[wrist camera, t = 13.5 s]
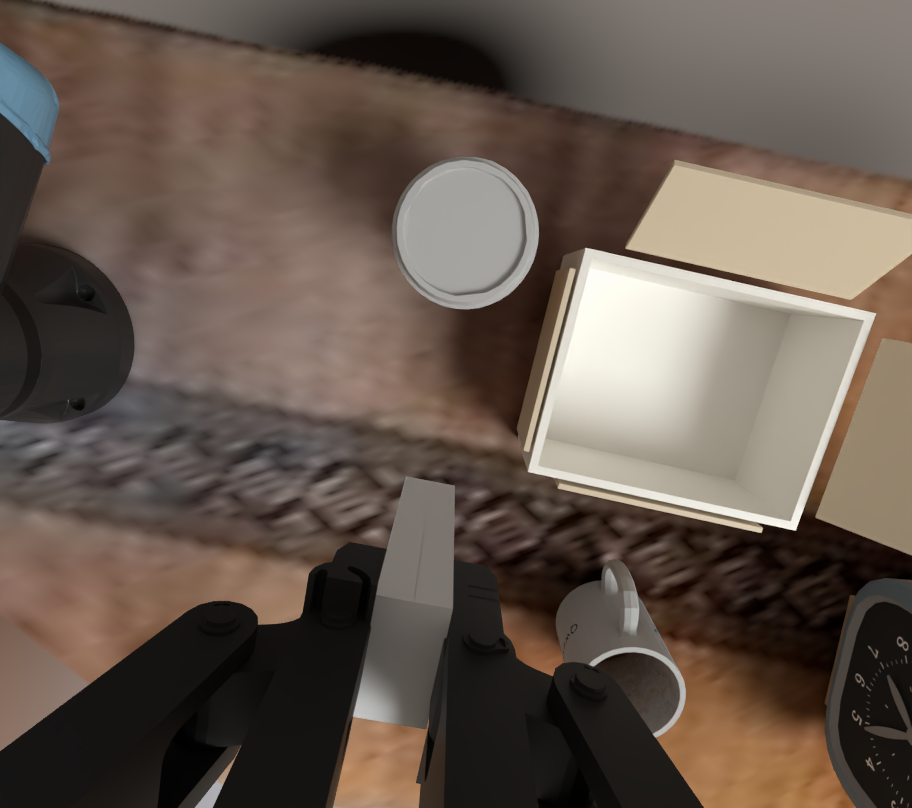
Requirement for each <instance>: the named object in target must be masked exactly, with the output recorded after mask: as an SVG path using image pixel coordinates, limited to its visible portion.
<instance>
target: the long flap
mask: <svg viewBox="0 0 912 808" xmlns="http://www.w3.org/2000/svg"><path fill="white" fill-rule="evenodd" d="M626 249H629V250H634V251H638V252H643V253H647V254H651V255H656V256H660V257H665V258H669V259H673V260H678V261H682V262H687V263H691V264H695V265H700V266H704V267H709V268H713V269H717V270H722V271H726V272H731V273H735V274H739V275H744V276H748V277H753V278H757V279H761V280H766V281H770V282H775V283H779V284H783V285H788V286H792V287H797V288H801V289H805V290H810V291H814V292H819V293H823V294H827V295H832V296H836V297H841V298H845V299H849V300H852V299H853V298H854V297H856V296H857V295H858V294H860V293H861V292H862V291H863V290H865V289H866V288H867V287H869V286H870V285H871V284H873V283H874V282H875V281H877V280H878V279H879V278H881V277H882V276H883V275H885V274H886V273H887V272H888V271H890V270H891V269H892V268H894V267H895V266H896V265H898V264H899V263H900V262H902V261H903V260H904V259H906V258H907V257H908V256H910V255H911V254H912V214H909V213H904V212H900V211H896V210H891V209H887V208H883V207H878V206H874V205H870V204H865V203H861V202H857V201H852V200H848V199H843V198H839V197H835V196H830V195H826V194H822V193H817V192H813V191H809V190H804V189H800V188H796V187H791V186H787V185H783V184H778V183H774V182H770V181H765V180H761V179H756V178H752V177H748V176H743V175H739V174H735V173H730V172H726V171H722V170H717V169H713V168H709V167H704V166H700V165H696V164H691V163H687V162H683V161H678V160H674V162H673V163H672V165H671V167H670V169H669V170H668V172H667V174H666V175H665V177H664V179H663V181H662V182H661V184H660V186H659V188H658V189H657V191H656V193H655V195H654V196H653V198H652V200H651V201H650V203H649V205H648V207H647V208H646V210H645V212H644V214H643V215H642V217H641V219H640V221H639V222H638V224H637V226H636V227H635V229H634V231H633V233H632V234H631V236H630V238H629V240H628V241H627V243H626Z"/></svg>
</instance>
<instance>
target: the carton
mask: <svg viewBox="0 0 912 808" xmlns="http://www.w3.org/2000/svg"><path fill="white" fill-rule="evenodd" d="M875 315H876V313H871V312H867V311H863V310H858V309H854V308H849V307H845V306H841V305H836V304H832V303H827V302H823V301H818V300H814V299H810V298H805V297H801V296H796V295H792V294H788V293H783V292H779V291H774V290H770V289H766V288H761V287H757V286H752V285H748V284H744V283H739V282H735V281H730V280H726V279H722V278H717V277H713V276H708V275H704V274H699V273H695V272H691V271H686V270H682V269H677V268H673V267H669V266H664V265H660V264H655V263H651V262H647V261H642V260H638V259H633V258H629V257H625V256H620V255H616V254H611V253H607V252H603V251H598V250H594V249H589V248H584V249H581V250H578V251H575V252H572V253H569V254H566V255H563V259H562V263H561V267H560V270H557V271H556V274H555V278H554V282H553V286H552V290H551V294H550V298H549V302H548V306H547V310H546V314H545V318H544V322H543V326H542V330H541V334H540V338H539V342H538V346H537V350H536V354H535V358H534V362H533V366H532V370H531V374H530V378H529V382H528V386H527V390H526V394H525V398H524V402H523V406H522V410H521V414H520V418H519V422H518V426H517V431H518V440H519V444H520V447H521V450H522V454H523V457H524V461H525V464H526V467H527V471H528V472H531V473H535V474H540V475H545V476H549V477H553V478H554V480H555V483H556V485H557V487H558V489H563V490H568V491H572V492H577V493H581V494H586V495H590V496H595V497H599V498H604V499H608V500H613V501H618V502H622V503H627V504H631V505H636V506H640V507H645V508H649V509H654V510H659V511H663V512H668V513H672V514H677V515H681V516H686V517H690V518H695V519H699V520H704V521H709V522H713V523H718V524H722V525H727V526H731V527H736V528H740V529H745V530H749V531H754V532H759V533H762V530H763V528H762V527H761V526H760V525H759V524H758V523H763V524H767V525H772V526H776V527H781V528H785V529H790V530H794V531H796V529H797V526H798V523H799V521H800V518H801V515H802V512H803V510H804V507H805V504H806V502H807V499H808V496H809V494H810V491H811V488H812V485H813V483H814V480H815V477H816V475H817V472H818V469H819V467H820V464H821V461H822V458H823V456H824V453H825V450H826V448H827V445H828V442H829V440H830V437H831V434H832V431H833V429H834V426H835V423H836V421H837V418H838V415H839V413H840V410H841V407H842V404H843V402H844V399H845V396H846V394H847V391H848V388H849V385H850V383H851V380H852V377H853V375H854V372H855V369H856V367H857V364H858V361H859V358H860V356H861V353H862V350H863V348H864V345H865V342H866V340H867V337H868V334H869V331H870V329H871V326H872V323H873V321H874V318H875ZM756 522H758V523H756Z"/></svg>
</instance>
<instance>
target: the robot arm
mask: <svg viewBox="0 0 912 808" xmlns="http://www.w3.org/2000/svg"><path fill="white" fill-rule="evenodd" d="M58 112H59V103H58V98H57V95H56V93H55V91H54V89H53V86H52V85H51V84H50V82H49V81H48V80H47V79H46V77H45V76H44V75H43V74H42V73H41V72H39V71H38V70H37V69H36V68H35V67H34V66H32V65H31V64H30V63H28V62H27V61H26V60H24V59H23V58H22V57H20V56H19V55H17V54H16V53H14V52H13V51H12V50H10V49H9V48H7V47H6V46H4V45H3V44H1V43H0V420H7V421H17V422H28V423H42V424H43V423H56V422H63V421H67V420H71V419H74V418H77V417H80V416H83V415H86V414H89V413H91V412H93V411H96V410H97V409H99V408H101V407H102V406H104V405H105V404H107V403H108V402H109V401H110V400H111V399H112V398H113V397H114V396H115V395H116V394H117V393H118V392H119V390H120V389H121V388H122V386H123V384H124V383H125V381H126V379H127V377H128V374H129V372H130V369H131V366H132V361H133V355H134V333H133V327H132V323H131V319H130V316H129V313H128V310H127V308H126V305H125V303H124V301H123V299H122V297H121V296H120V294H119V292H118V291H117V289H116V288H115V287H114V285H113V284H112V283H111V281H110V280H109V279H108V278H107V277H106V276H105V275H104V274H103V273H102V272H101V271H100V270H99V269H98V268H97V267H95V266H94V265H93V264H91V263H90V262H89V261H87V260H86V259H84V258H82V257H81V256H79V255H77V254H75V253H72V252H70V251H68V250H65V249H62V248H58V247H54V246H49V245H40V244H29V243H19V240H20V237H21V234H22V231H23V228H24V224H25V221H26V218H27V215H28V212H29V209H30V206H31V203H32V200H33V196H34V193H35V190H36V187H37V184H38V181H39V178H40V175H41V172H42V169H43V165H48V164H49V163H50V160H51V155H50V152H49V147H50V143H51V139H52V136H53V132H54V128H55V124H56V121H57V117H58ZM454 496H455V486H453V485H448V484H442V483H437V482H432V481H427V480H422V479H416V478H411V477H406V478H405V482H404V486H403V490H402V494H401V497H400V501H399V505H398V509H397V513H396V517H395V520H394V524H393V528H392V532H391V536H390V540H389V543H388V547H387V549H384V548H379V547H373V546H368V545H363V544H357V543H352V542H349V543H348V544H346V545H345V546H343V547H341V548H340V549H338V550H337V552H336V554H335V557H334V559H333V561H332V562H330V563H324V564H321V565H319V566H317V567H315V568H314V569H313V570H312V571H311V572H310V573H309V577H308V583H307V589H306V595H305V602H304V608H303V613H302V615H301V617H300V618H298V619H296V620H294V621H290V622H287V623H281V624H267V625H258V617H257V615H256V614H255V613H254V611H253V610H252V609H250V608H249V607H247V606H245V605H243V604H240V603H235V602H231V601H213V602H209V603H205V604H200V605H198V606H196V607H194V608H192V609H191V610H189V611H187V612H186V613H184V614H183V615H182V616H180V617H179V618H178V619H176V620H175V621H174V622H172V623H171V624H170V625H168V626H167V627H166V628H164V629H163V630H162V631H160V632H159V633H158V634H156V635H155V636H154V637H152V638H151V639H150V640H148V641H147V642H146V643H144V644H143V645H142V646H140V647H139V648H138V649H136V650H135V651H134V652H132V653H131V654H130V655H128V656H127V657H126V658H124V659H123V660H122V661H120V662H119V663H118V664H116V665H115V666H114V667H112V668H111V669H110V670H108V671H107V672H106V673H104V674H103V675H102V676H100V677H99V678H98V679H96V680H95V681H94V682H92V683H91V684H90V685H88V686H87V687H86V688H84V689H83V690H82V691H81V692H79V693H78V694H76V695H75V696H73V697H72V698H71V699H70V700H68V701H67V702H66V703H64V704H63V705H61V706H60V707H59V708H57V709H56V710H55V711H53V712H52V713H51V714H49V715H48V716H47V717H45V718H44V719H43V720H41V721H40V722H39V723H37V724H36V725H35V726H33V727H32V728H31V729H29V730H28V731H27V732H25V733H24V734H23V735H21V736H20V737H19V738H17V739H16V740H15V741H13V742H12V743H11V744H9V745H8V746H7V747H5V748H4V749H3V750H1V751H0V808H195V806H196V805H197V804H198V803H199V802H200V800H201V799H202V798H203V796H204V795H205V794H206V793H207V792H208V790H209V789H210V788H211V787H212V785H213V784H214V783H215V781H216V780H217V779H218V778H219V776H220V775H221V774H222V773H223V771H224V770H225V769H226V768H227V766H228V765H229V764H230V763H231V761H232V760H233V759H234V758H235V756H236V754H237V752H238V750H239V748H240V746H241V748H240V750H239V752H238V754H237V756H236V758H235V761H234V763H233V765H232V767H231V769H230V772H229V774H228V776H227V778H226V780H225V782H224V785H223V787H222V789H221V791H220V794H219V795H218V798H217V800H216V802H215V804H214V806H213V808H333V804H334V800H335V795H336V791H337V787H338V783H339V778H340V774H341V770H342V765H343V761H344V757H345V752H346V748H347V744H348V740H349V735H350V730H351V724H352V719H353V717H358V718H364V719H370V720H375V721H381V722H387V723H393V724H398V725H404V726H410V727H415V728H421V729H426V727H427V723H428V718H429V727H428V732H427V736H426V740H425V745H424V749H423V754H422V758H421V763H420V767H419V772H418V776H417V781H416V783H419V784H421V788H420V801H419V808H704V807H703V806H702V804H701V803H700V801H699V800H698V799H697V797H696V796H695V794H694V793H693V791H692V790H691V788H690V787H689V786H688V784H687V783H686V781H685V780H684V778H683V777H682V775H681V774H680V772H679V771H678V770H677V768H676V767H675V765H674V764H673V762H672V761H671V759H670V758H669V757H668V755H667V754H666V752H665V751H664V749H663V748H662V746H661V745H660V744H659V742H658V741H657V739H656V738H655V736H654V735H653V733H652V732H651V731H650V729H649V728H648V726H647V725H646V723H645V722H644V720H643V719H642V718H641V716H640V715H639V713H638V712H637V710H636V709H635V707H634V706H633V704H632V703H631V702H630V700H629V699H628V697H627V696H626V694H625V693H624V691H623V690H622V689H621V687H620V686H619V685H618V684H617V683H616V682H615V681H614V679H613V678H612V677H611V676H609V675H608V674H606V673H605V672H603V671H602V670H600V669H598V668H596V667H594V666H591V665H588V664H585V663H578V662H568V663H562V664H561V665H560V666H558V667H557V668H555V672H554V675H553V676H550V675H548V674H545V673H543V672H541V671H538V670H536V669H534V668H532V667H530V666H528V665H526V664H524V663H523V662H522V661H520V660H519V659H517V658H516V653H515V649H514V646H513V644H512V642H511V640H510V639H509V638H508V637H507V636H506V635H505V634H504V631H503V623H502V616H501V608H500V603H499V593H498V585H497V578H496V577H495V576H494V574H493V573H492V572H491V570H490V569H489V568H488V567H487V566H483V565H478V564H473V563H467V562H462V561H457V560H454Z"/></svg>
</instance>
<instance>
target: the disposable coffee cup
mask: <svg viewBox="0 0 912 808" xmlns="http://www.w3.org/2000/svg"><path fill="white" fill-rule="evenodd" d="M538 238H539V227H538V218H537V214H536V210H535V206H534V204H533V202H532V199H531V197H530V195H529V193H528V191H527V190H526V189H525V187H524V186H523V185H522V184H521V182H520V181H519V180H518V178H517V177H516V176H514V175H513V174H512V173H511V172H509V171H508V170H507V169H506V168H504V167H502V166H500V165H498V164H497V163H495V162H493V161H490V160H486V159H482V158H479V157H467V156H458V157H454V158H449V159H444V160H441V161H439V162H437V163H435V164H433V165H430V166H429V167H427V168H426V169H425V170H423V171H422V172H420V173H419V174H418V175H417V176H416V177H415V178H414V179H413V180H412V181H411V182H410V183H409V184H408V186H407V187H406V189H405V190H404V192H403V193H402V195H401V197H400V199H399V201H398V204H397V206H396V209H395V212H394V216H393V222H392V244H393V249H394V254H395V257H396V260H397V262H398V265H399V268H400V270H401V271H402V273H403V274H404V276H405V277H406V279H407V280H408V282H409V283H410V284H411V285H412V286H413V287H414V288H415V289H416V290H417V291H418V292H419V293H420V294H422V295H423V296H425V297H426V298H427V299H429V300H431V301H433V302H435V303H437V304H440V305H442V306H445V307H450V308H455V309H474V308H481V307H484V306H488V305H490V304H493V303H495V302H497V301H499V300H501V299H502V298H504V297H505V296H507V295H508V294H510V293H511V292H512V291H513V290H514V289H515V288H516V287H517V286H518V285H519V284H520V283H521V282H522V280H523V279H524V278H525V276H526V275H527V273H528V272H529V270H530V268H531V265H532V263H533V261H534V258H535V254H536V251H537V247H538Z"/></svg>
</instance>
